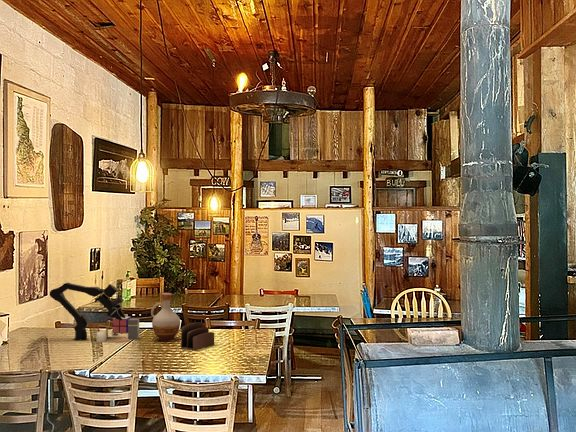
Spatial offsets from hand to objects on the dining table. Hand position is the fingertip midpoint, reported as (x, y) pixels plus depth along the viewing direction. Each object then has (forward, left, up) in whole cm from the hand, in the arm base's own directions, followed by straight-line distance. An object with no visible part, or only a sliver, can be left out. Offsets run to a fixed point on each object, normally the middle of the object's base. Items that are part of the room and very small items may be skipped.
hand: (123, 318), depth 367 cm
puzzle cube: (+6, +25, -13) cm, 28 cm away
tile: (-3, -7, -13) cm, 15 cm away
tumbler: (+6, -3, -13) cm, 14 cm away
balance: (-9, +6, -13) cm, 17 cm away
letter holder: (+32, -48, -13) cm, 59 cm away
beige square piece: (-14, -1, -13) cm, 19 cm away
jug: (+22, -17, -13) cm, 31 cm away
